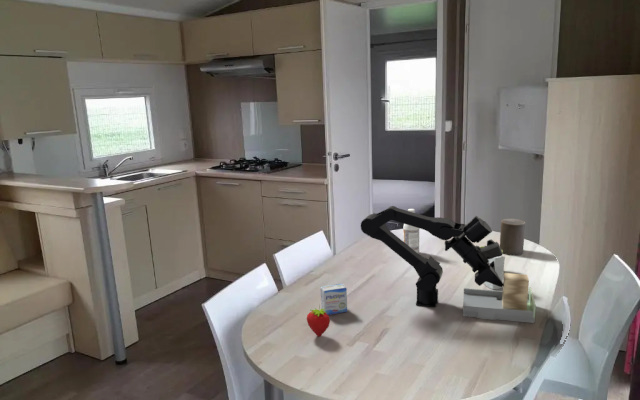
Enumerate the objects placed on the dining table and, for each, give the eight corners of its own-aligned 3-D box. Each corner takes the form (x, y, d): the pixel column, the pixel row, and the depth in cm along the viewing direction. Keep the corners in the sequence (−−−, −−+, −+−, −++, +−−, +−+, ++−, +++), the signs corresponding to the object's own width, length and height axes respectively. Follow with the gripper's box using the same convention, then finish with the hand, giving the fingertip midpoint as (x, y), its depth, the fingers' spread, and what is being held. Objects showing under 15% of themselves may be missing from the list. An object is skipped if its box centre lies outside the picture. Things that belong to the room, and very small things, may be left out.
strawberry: (314, 328, 149) (313, 298, 146) (334, 335, 144) (333, 304, 142) (303, 336, 144) (301, 305, 142) (323, 343, 140) (321, 312, 137)
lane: (462, 316, 152) (463, 299, 151) (463, 298, 165) (464, 282, 164) (534, 323, 146) (535, 305, 145) (529, 304, 159) (530, 287, 158)
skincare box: (482, 283, 177) (483, 252, 174) (492, 282, 178) (494, 251, 175) (492, 290, 171) (494, 258, 168) (503, 288, 172) (505, 256, 169)
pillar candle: (500, 254, 206) (502, 221, 202) (498, 247, 215) (500, 215, 211) (524, 256, 203) (527, 222, 199) (522, 248, 212) (524, 216, 208)
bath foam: (404, 250, 216) (404, 207, 212) (420, 251, 214) (420, 207, 210) (401, 255, 210) (401, 211, 206) (417, 256, 208) (418, 211, 203)
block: (502, 308, 152) (504, 278, 150) (502, 301, 157) (503, 272, 155) (526, 310, 150) (528, 280, 148) (525, 303, 155) (527, 274, 153)
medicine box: (324, 315, 157) (323, 291, 155) (321, 310, 161) (320, 286, 159) (347, 312, 159) (346, 287, 157) (343, 306, 163) (342, 282, 161)
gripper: (487, 244, 143) (525, 281, 142) (486, 226, 160) (520, 260, 159) (459, 267, 147) (496, 304, 146) (461, 247, 164) (493, 280, 163)
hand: (502, 285), depth 153 cm, fingers closed
